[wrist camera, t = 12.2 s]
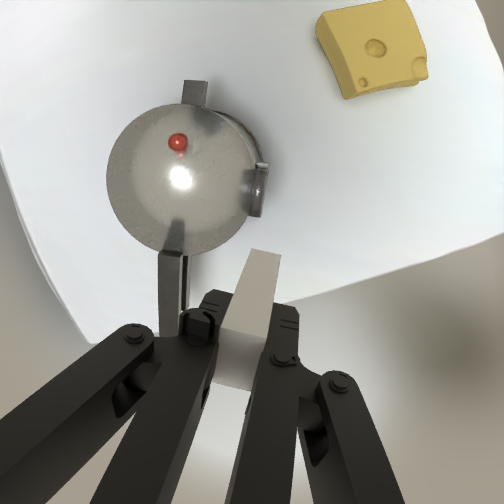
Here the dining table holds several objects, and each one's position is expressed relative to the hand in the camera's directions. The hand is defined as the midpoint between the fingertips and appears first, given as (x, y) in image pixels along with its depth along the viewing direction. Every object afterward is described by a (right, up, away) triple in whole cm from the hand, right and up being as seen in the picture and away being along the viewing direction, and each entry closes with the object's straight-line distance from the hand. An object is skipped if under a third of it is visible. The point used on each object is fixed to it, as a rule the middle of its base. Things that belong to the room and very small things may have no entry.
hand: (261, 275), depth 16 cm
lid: (-9, +3, +20) cm, 22 cm away
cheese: (+14, +27, +17) cm, 35 cm away
